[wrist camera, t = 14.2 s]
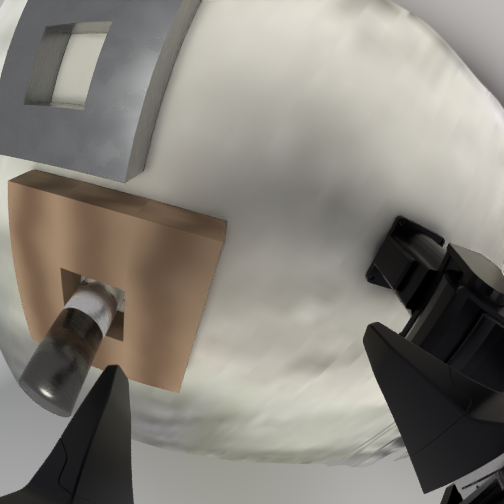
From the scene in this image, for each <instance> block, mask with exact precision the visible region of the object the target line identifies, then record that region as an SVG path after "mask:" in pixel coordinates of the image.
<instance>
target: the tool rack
mask: <svg viewBox="0 0 504 504" xmlns="http://www.w3.org/2000/svg"><path fill="white" fill-rule="evenodd" d="M8 211H9V227H10V238H11V246H12V254H13V261H14V267H15V273H16V279H17V284H18V289H19V293H20V298H21V302H22V306H23V310H24V314H25V317H26V321H27V324H28V328H29V331H30V334H31V337H32V339H33V340H35V341H37V342H39V343H41V341H42V340H43V338H44V336H45V335H46V333H47V332H48V330H49V329H50V327H51V326H52V324H53V323H54V321H55V320H56V318H57V317H58V315H59V314H60V312H61V311H62V309H63V308H64V307H65V305H66V304H67V302H68V301H69V300H70V298H71V297H72V295H73V294H74V293H75V291H76V290H77V289H78V287H79V286H80V285H81V283H80V275H82V276H85V277H87V278H90V279H93V280H96V281H99V282H102V283H105V284H108V285H110V286H113V287H116V288H120V289H123V290H125V307H124V313H122V312H119V311H117V313H116V315H115V317H114V319H113V321H112V323H111V325H110V327H109V329H108V331H107V333H106V335H105V337H104V339H103V341H102V343H101V345H100V347H99V349H98V351H97V354H96V356H95V358H94V360H93V362H92V365H91V366H93V367H96V368H99V369H101V370H104V369H105V368H106V367H107V366H108V365H116V364H117V365H119V366H120V367H121V369H122V370H123V372H124V373H125V375H126V376H127V378H128V379H130V380H134V381H137V382H140V383H143V384H147V385H150V386H154V387H158V388H161V389H165V390H169V391H173V392H177V393H179V392H180V388H181V384H182V381H183V377H184V374H185V370H186V367H187V363H188V360H189V356H190V353H191V349H192V346H193V342H194V339H195V335H196V332H197V329H198V325H199V322H200V319H201V315H202V312H203V309H204V305H205V302H206V299H207V296H208V292H209V289H210V286H211V283H212V280H213V276H214V273H215V270H216V267H217V264H218V261H219V258H220V254H221V251H222V248H223V245H224V241H225V234H226V226H227V221H223V220H220V219H217V218H213V217H210V216H206V215H203V214H199V213H196V212H192V211H189V210H185V209H182V208H178V207H175V206H171V205H167V204H164V203H160V202H157V201H153V200H149V199H146V198H142V197H138V196H135V195H131V194H127V193H124V192H120V191H116V190H112V189H108V188H105V187H101V186H97V185H93V184H89V183H85V182H81V181H77V180H74V179H70V178H66V177H62V176H57V175H53V174H49V173H45V172H41V171H37V170H31V171H29V172H27V173H24V174H22V175H20V176H18V177H15V178H13V179H11V180H9V181H8Z"/></svg>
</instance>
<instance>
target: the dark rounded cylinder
mask: <svg viewBox="0 0 504 504" xmlns="http://www.w3.org/2000/svg"><path fill="white" fill-rule="evenodd" d="M124 298H125V290H123V289H120V288H116V287H113V286H110V285H108V284H105V283H102V282H99V281H96V280H93V279H90V278H87V277H86V278H85V279H84V281H83V282H82V283H81V285H80V286H79V287H78V289H77V290H76V291H75V293H74V294H73V295H72V297H71V298H70V300H69V301H68V302H67V304H66V305H65V307H64V308H63V309H62V311H61V312H60V314H59V315H58V317H57V318H56V320H55V321H54V323H53V324H52V326H51V327H50V329H49V330H48V332H47V333H46V335H45V336H44V338H43V340H42V341H41V343H40V344H39V346H38V348H37V349H36V351H35V353H34V354H33V356H32V358H31V359H30V361H29V363H28V364H27V366H26V368H25V370H24V372H23V373H22V375H21V377H20V379H19V384H20V386H21V388H22V389H23V390H24V392H25V393H26V394H27V395H28V396H29V397H30V398H31V399H32V400H33V401H35V402H36V403H37V404H39V405H40V406H41V407H43V408H44V409H46V410H48V411H50V412H52V413H54V414H56V415H59V416H62V417H70V416H71V413H72V411H73V408H74V405H75V403H76V400H77V398H78V395H79V393H80V390H81V388H82V385H83V383H84V381H85V378H86V376H87V374H88V371H89V369H90V367H91V365H92V362H93V360H94V358H95V356H96V354H97V351H98V349H99V347H100V345H101V343H102V341H103V339H104V337H105V335H106V333H107V331H108V329H109V327H110V325H111V323H112V321H113V319H114V317H115V315H116V313H117V311H118V309H119V307H120V305H121V303H122V301H123V299H124Z"/></svg>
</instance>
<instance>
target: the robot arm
mask: <svg viewBox="0 0 504 504" xmlns="http://www.w3.org/2000/svg"><path fill="white" fill-rule="evenodd" d="M402 220H403V221H402ZM401 221H402V223H401V224H400V222H401ZM439 242H440V243H439ZM444 243H445V240H444V238H443V237H441V236H440V235H438V234H436V233H434V232H433V231H431V230H429V229H427V228H425V227H423V226H421V225H419V224H417V223H415V222H413V221H412V220H410V219H408V218H406V217H404V216H399V217H397V218H396V220H395V222H394V224H393V226H392V228H391V230H390V232H389V234H388V236H387V238H386V239H385V241H384V243H383V245H382V247H381V249H380V251H379V252H378V254H377V256H376V258H375V260H374V262H373V264H372V265H371V267H370V269H369V271H368V272H367V274H366V279H367V281H368V282H369V283H373V284H376V285H379V286H383V287H386V288H390V289H392V290H393V291H394V292H395V294H396V295H397V297H398V298H399V300H400V301H401V302H402V304H403V305H404V307H405V308H406V310H407V311H408V313H409V314H410V316H411V318H410V320H409V321H408V323H407V324H406V326H405V328H404V329H403V331H402V332H400V333H399V334H397V333H396V332H394V331H392V330H391V329H389V328H388V327H386V326H384V325H383V324H381V323H379V322H375V323H371V324H369V325H368V326H367V329H366V332H365V334H364V337H363V344H364V347H365V350H366V353H367V355H368V358H369V361H370V364H371V367H372V370H373V373H374V375H375V378H376V380H377V382H378V385H379V387H380V389H381V391H382V393H383V395H384V398H385V400H386V402H387V404H388V406H389V409H390V411H391V413H392V415H393V418H394V420H395V422H396V425H397V427H398V429H399V432H400V434H401V436H402V439H403V441H404V444H405V446H406V449H407V451H408V454H409V456H410V459H411V461H412V464H413V467H414V469H415V472H416V474H417V477H418V480H419V482H420V484H421V488H422V491H423V493H424V494H426V493H428V492H431V491H433V490H436V489H438V488H440V487H443V486H445V485H447V484H449V483H451V482H453V483H452V484H451V485H449V486H448V487H447V488H446V490H445V493H444V495H443V498H442V501H441V503H440V504H504V276H503V274H502V272H501V270H500V268H499V267H497V266H496V265H495V264H494V263H492V262H491V261H490V260H488V259H487V258H486V257H484V256H483V255H481V254H479V253H477V252H474V251H471V250H469V249H466V248H463V247H460V246H457V245H455V244H452V243H449V244H448V246H447V249H446V250H447V251H446V250H444V249H443V248H442V247H443V245H444ZM371 276H373V277H372V278H370V277H371ZM0 504H134V502H133V488H132V470H131V412H130V399H129V383H128V378H127V376H126V375H125V373H124V372H123V370H122V369H121V367H120V366H119V365H117V364H116V365H108V366H107V367H106V368H105V369H104V371H103V372H102V374H101V375H100V377H99V378H98V380H97V381H96V383H95V384H94V386H93V387H92V389H91V390H90V392H89V393H88V395H87V396H86V398H85V399H84V401H83V402H82V404H81V405H80V407H79V408H78V410H77V412H76V413H75V415H74V416H73V418H72V419H71V421H70V423H69V424H68V426H67V428H66V429H65V431H64V432H63V434H62V435H61V438H60V439H59V440H58V442H57V444H56V445H55V447H54V449H53V450H52V452H51V453H50V455H49V456H48V457H47V459H46V460H45V462H44V463H43V464H42V466H41V467H40V468H39V470H38V471H37V472H36V474H35V475H34V476H33V478H32V479H31V480H30V482H29V483H28V484H27V485H26V486H25V487H24V488H23V489H20V490H18V491H16V492H13V493H11V494H8V495H5V496H2V497H0Z"/></svg>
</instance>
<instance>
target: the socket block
mask: <svg viewBox="0 0 504 504" xmlns="http://www.w3.org/2000/svg"><path fill="white" fill-rule="evenodd" d="M200 2H201V0H28V1H27V4H26V6H25V8H24V10H23V12H22V15H21V17H20V19H19V22H18V24H17V27H16V29H15V32H14V35H13V38H12V40H11V43H10V46H9V49H8V53H7V56H6V59H5V63H4V66H3V70H2V74H1V78H0V154H1V155H6V156H11V157H15V158H20V159H25V160H30V161H34V162H39V163H43V164H48V165H52V166H57V167H61V168H65V169H70V170H74V171H78V172H82V173H86V174H90V175H94V176H98V177H103V178H106V179H110V180H114V181H118V182H122V183H126V182H127V181H129V180H130V179H132V178H133V177H135V176H136V175H138V174H140V173H141V172H143V170H144V166H145V161H146V157H147V153H148V148H149V144H150V140H151V137H152V133H153V129H154V125H155V122H156V118H157V115H158V111H159V108H160V105H161V101H162V98H163V95H164V92H165V89H166V86H167V83H168V80H169V77H170V74H171V71H172V68H173V66H174V63H175V60H176V58H177V55H178V52H179V50H180V47H181V45H182V42H183V40H184V37H185V35H186V33H187V30H188V28H189V26H190V24H191V21H192V19H193V17H194V15H195V13H196V10H197V8H198V6H199V4H200ZM76 33H108V34H107V36H106V39H105V41H104V44H103V47H102V49H101V52H100V55H99V58H98V61H97V64H96V67H95V70H94V73H93V77H92V80H91V84H90V87H89V91H88V95H87V99H86V103H85V106H84V105H75V104H65V103H54V102H51V98H52V93H53V89H54V85H55V81H56V78H57V74H58V71H59V67H60V64H61V61H62V57H63V54H64V51H65V48H66V46H67V43H68V40H69V37H70V35H71V34H76Z"/></svg>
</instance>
